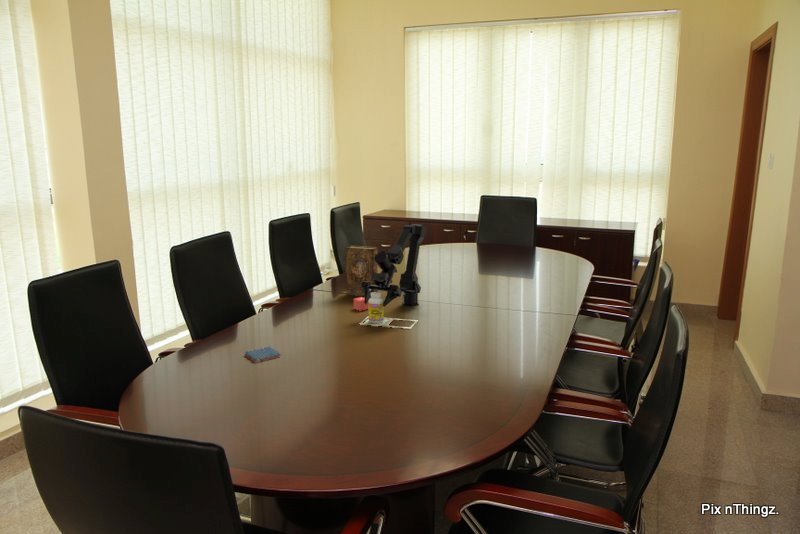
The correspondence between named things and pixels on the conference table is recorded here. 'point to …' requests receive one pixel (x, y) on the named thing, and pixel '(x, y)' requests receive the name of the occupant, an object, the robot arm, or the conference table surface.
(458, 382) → the conference table surface
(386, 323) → the silver picture frame
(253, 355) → the woven mat
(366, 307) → the red die
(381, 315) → the supplement bottle
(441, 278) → the conference table surface
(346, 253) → the book
